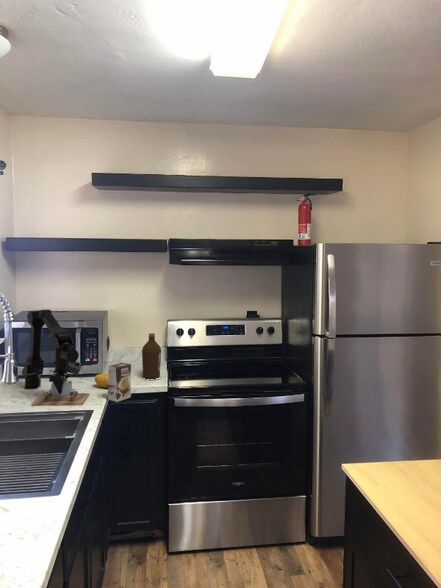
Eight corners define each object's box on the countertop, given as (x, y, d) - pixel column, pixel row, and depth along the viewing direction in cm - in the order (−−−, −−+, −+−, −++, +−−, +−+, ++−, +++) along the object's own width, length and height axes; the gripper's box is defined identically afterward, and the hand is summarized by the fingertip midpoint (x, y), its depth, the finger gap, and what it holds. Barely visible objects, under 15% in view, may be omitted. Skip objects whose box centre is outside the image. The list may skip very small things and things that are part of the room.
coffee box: (117, 402, 200) (117, 367, 199) (107, 399, 204) (107, 365, 203) (131, 397, 208) (131, 363, 207) (121, 394, 211) (121, 362, 210)
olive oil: (142, 380, 237) (142, 335, 235) (141, 375, 247) (141, 332, 246) (161, 380, 239) (162, 335, 238) (160, 375, 250) (160, 332, 248)
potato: (101, 384, 229) (101, 371, 228) (124, 387, 223) (124, 374, 223) (92, 387, 222) (92, 374, 222) (115, 391, 217) (115, 377, 216)
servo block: (47, 396, 198) (47, 382, 198) (50, 393, 203) (50, 379, 202) (73, 396, 199) (73, 382, 199) (75, 393, 204) (75, 379, 203)
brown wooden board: (31, 405, 193) (31, 399, 192) (42, 395, 208) (42, 389, 207) (82, 405, 195) (82, 398, 195) (89, 395, 210) (89, 389, 210)
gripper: (74, 363, 191) (74, 398, 193) (83, 354, 210) (83, 386, 211) (48, 363, 190) (48, 398, 191) (60, 354, 209) (60, 386, 210)
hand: (61, 392), depth 201 cm, fingers closed on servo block, 4 cm apart
